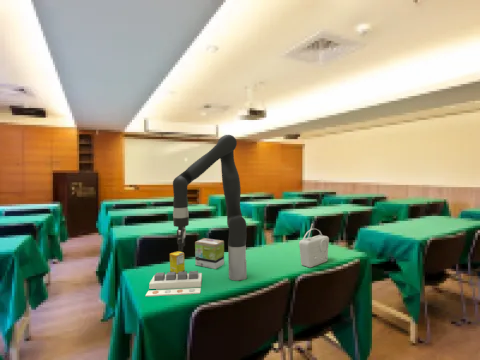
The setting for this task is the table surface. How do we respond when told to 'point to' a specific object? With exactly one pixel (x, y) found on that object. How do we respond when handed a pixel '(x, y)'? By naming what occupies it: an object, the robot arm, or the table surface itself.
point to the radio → (313, 249)
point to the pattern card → (173, 292)
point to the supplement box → (177, 262)
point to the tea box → (209, 253)
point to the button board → (176, 283)
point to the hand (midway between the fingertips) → (181, 248)
